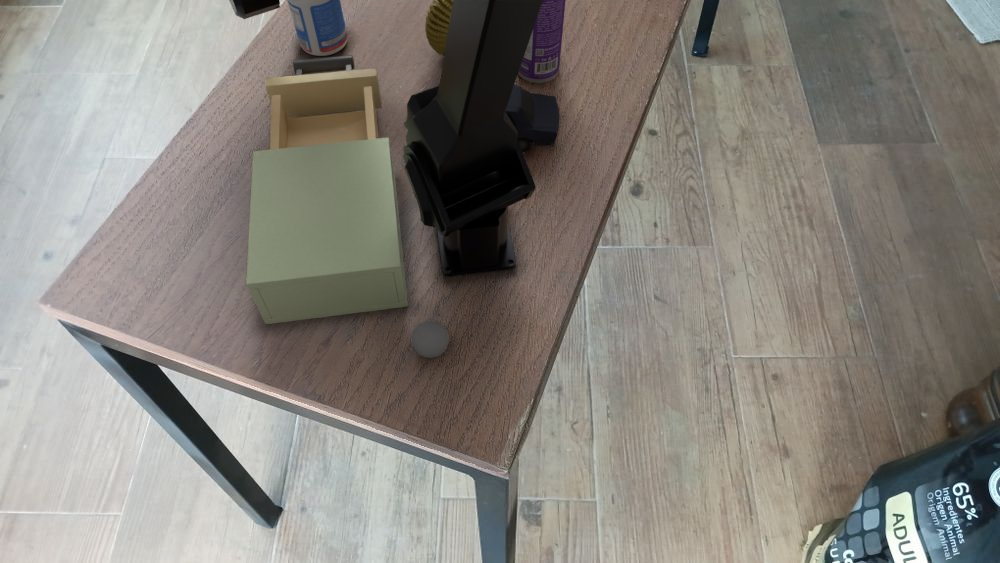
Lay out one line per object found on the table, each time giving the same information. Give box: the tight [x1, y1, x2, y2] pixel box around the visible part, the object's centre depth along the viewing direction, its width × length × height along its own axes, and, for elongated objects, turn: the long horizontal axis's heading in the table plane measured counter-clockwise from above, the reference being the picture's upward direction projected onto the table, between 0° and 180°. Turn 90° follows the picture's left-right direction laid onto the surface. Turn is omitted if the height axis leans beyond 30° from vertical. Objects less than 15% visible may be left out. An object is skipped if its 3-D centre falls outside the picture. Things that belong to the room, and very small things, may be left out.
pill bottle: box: [287, 0, 349, 57], centre depth 77 cm, size 6×5×10 cm
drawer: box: [265, 54, 383, 150], centre depth 70 cm, size 18×11×4 cm, turn 9°
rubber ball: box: [410, 319, 450, 359], centre depth 58 cm, size 3×3×3 cm
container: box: [518, 0, 566, 84], centre depth 73 cm, size 5×5×15 cm
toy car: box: [505, 83, 561, 154], centre depth 71 cm, size 6×15×5 cm, turn 89°
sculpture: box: [424, 0, 453, 57], centre depth 77 cm, size 8×4×8 cm, turn 129°
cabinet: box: [245, 137, 409, 325], centre depth 63 cm, size 14×12×6 cm
